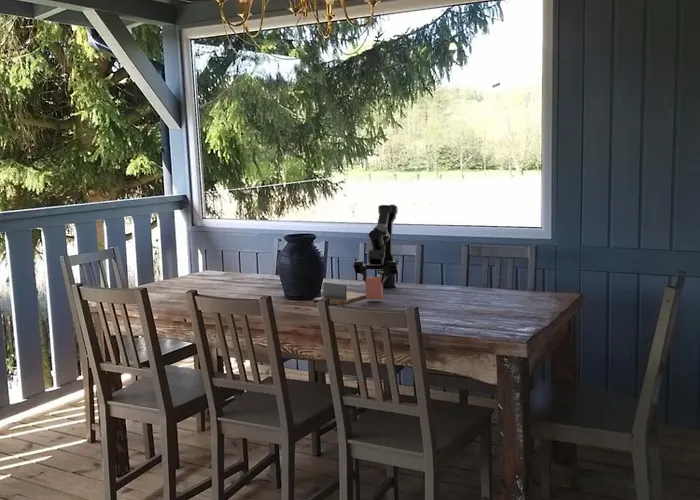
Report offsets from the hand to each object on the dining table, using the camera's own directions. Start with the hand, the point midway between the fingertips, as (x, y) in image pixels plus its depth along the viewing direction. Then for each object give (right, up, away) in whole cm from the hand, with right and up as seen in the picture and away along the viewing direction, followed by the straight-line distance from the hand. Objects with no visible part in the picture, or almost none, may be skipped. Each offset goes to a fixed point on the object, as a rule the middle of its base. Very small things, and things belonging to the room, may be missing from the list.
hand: (373, 283), depth 295 cm
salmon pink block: (0, -6, +2) cm, 7 cm away
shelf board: (-13, -7, +9) cm, 17 cm away
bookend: (-16, -6, +5) cm, 18 cm away
